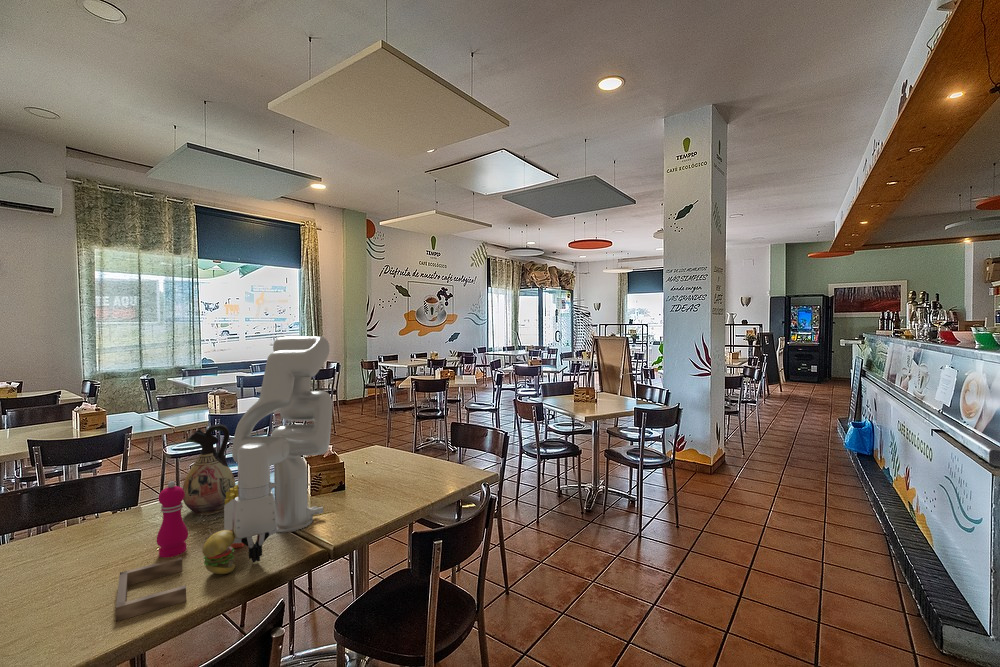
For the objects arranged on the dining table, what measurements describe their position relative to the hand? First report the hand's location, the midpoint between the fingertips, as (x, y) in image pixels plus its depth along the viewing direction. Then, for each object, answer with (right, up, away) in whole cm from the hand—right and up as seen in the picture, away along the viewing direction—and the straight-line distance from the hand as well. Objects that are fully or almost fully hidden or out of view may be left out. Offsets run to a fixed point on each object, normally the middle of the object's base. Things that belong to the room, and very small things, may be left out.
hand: (255, 559), depth 125 cm
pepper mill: (-26, -1, +7) cm, 27 cm away
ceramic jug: (-33, -1, +35) cm, 48 cm away
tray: (-17, -2, -13) cm, 21 cm away
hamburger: (-7, -2, -5) cm, 8 cm away
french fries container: (-12, -1, +11) cm, 16 cm away
